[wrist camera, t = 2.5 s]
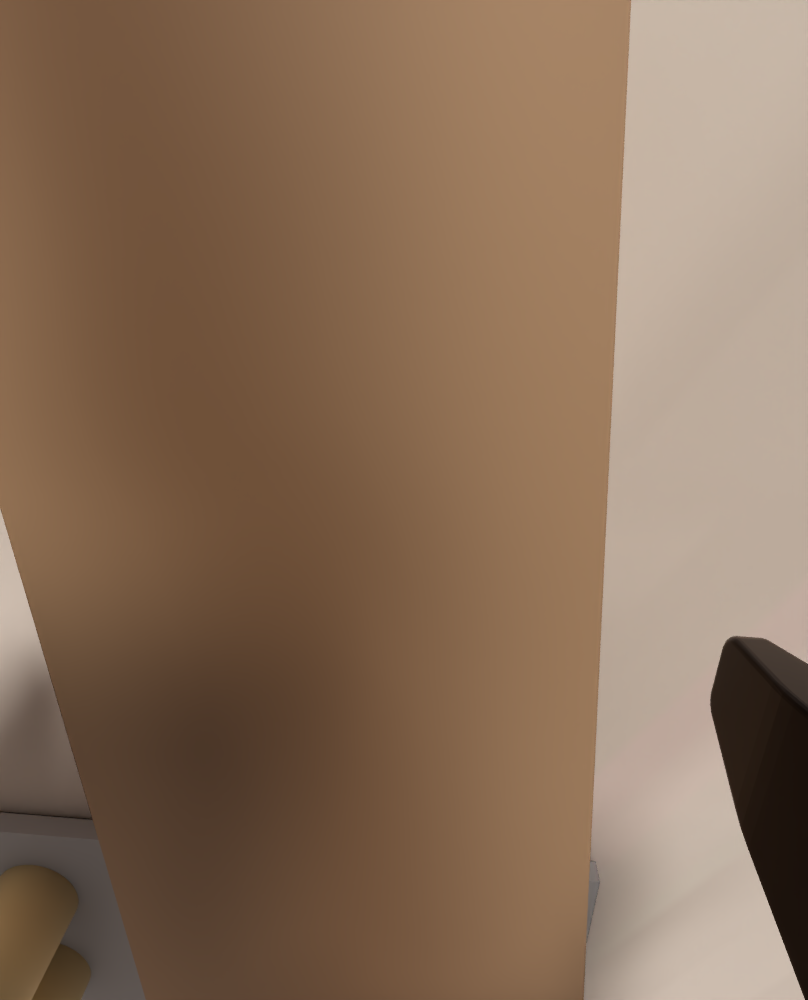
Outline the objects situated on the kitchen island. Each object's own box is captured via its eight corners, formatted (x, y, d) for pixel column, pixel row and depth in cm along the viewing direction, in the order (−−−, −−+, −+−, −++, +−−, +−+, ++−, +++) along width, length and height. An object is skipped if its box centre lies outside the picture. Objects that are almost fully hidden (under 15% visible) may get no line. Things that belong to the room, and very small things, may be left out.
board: (537, 10, 10) (640, -169, 5) (532, 798, 16) (576, 1131, 10) (143, 43, 11) (-178, -89, 5) (272, 800, 16) (182, 1122, 11)
